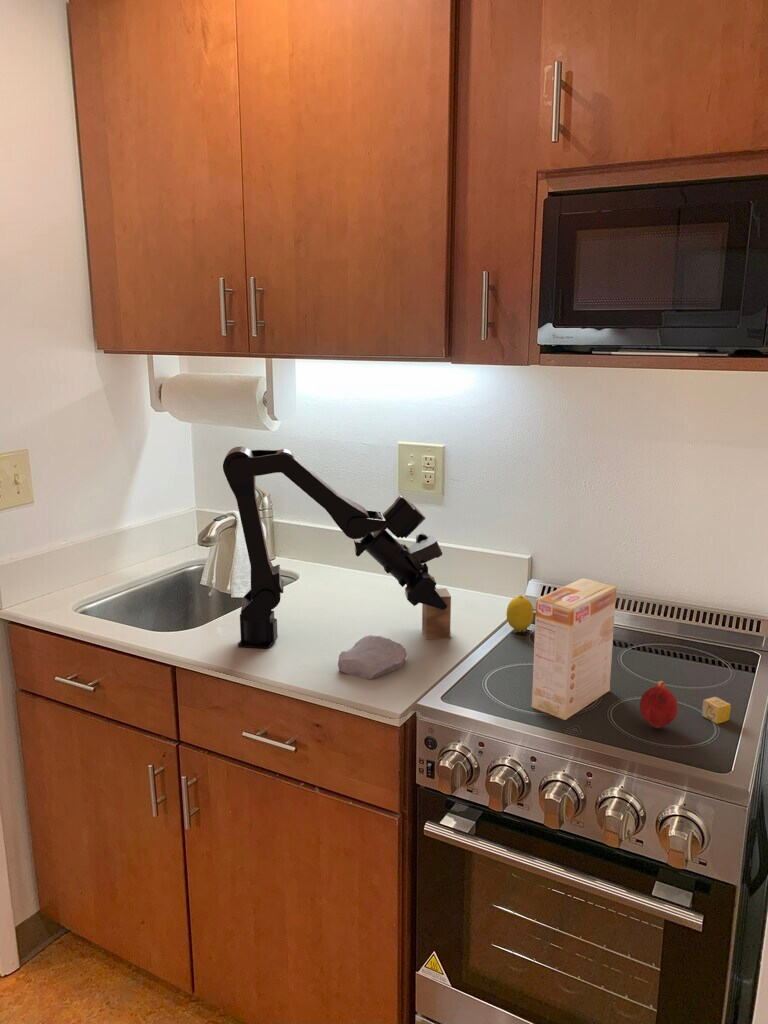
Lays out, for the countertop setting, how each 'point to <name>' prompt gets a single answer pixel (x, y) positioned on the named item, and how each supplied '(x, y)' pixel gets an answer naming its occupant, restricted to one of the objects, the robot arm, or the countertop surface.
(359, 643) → the lilac crinkled slab
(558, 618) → the coffeecake box
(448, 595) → the walnut block
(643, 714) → the onion
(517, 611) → the lemon
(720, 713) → the alphabet block
